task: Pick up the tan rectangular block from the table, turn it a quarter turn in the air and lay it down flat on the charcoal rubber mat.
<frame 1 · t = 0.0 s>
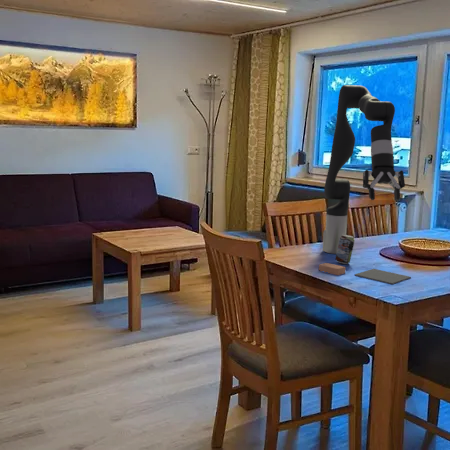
hand: (384, 199, 199), 31 cm above the table, tool tilted 20°, fingers open, 8 cm apart
tan rectangular block: (331, 272, 225), on the table
beverage can: (343, 263, 240), on the table
mat: (382, 276, 219), on the table
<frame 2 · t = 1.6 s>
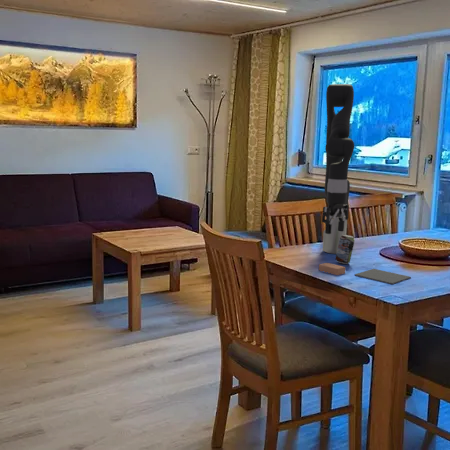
hand: (334, 232, 222), 16 cm above the table, tool pointing down, fingers open, 8 cm apart
nothing on the table moved.
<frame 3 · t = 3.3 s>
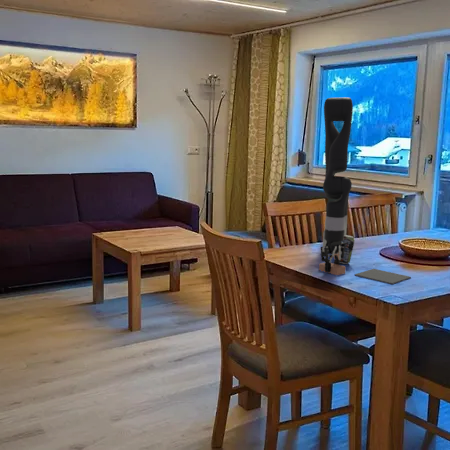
hand: (332, 270, 225), 1 cm above the table, tool pointing down, fingers closed on tan rectangular block, 5 cm apart
tan rectangular block: (331, 272, 225), on the table, touching gripper
everything else where it was.
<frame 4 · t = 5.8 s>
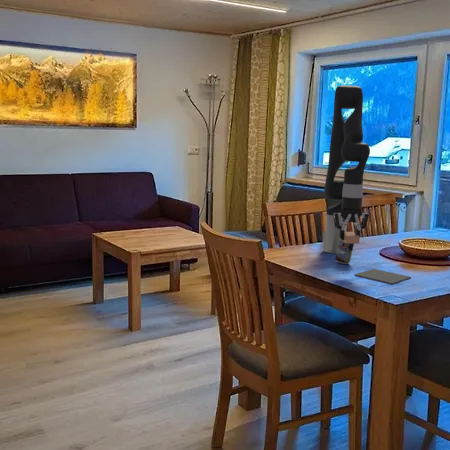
hand: (349, 239, 220), 14 cm above the table, tool pointing down, fingers closed on tan rectangular block, 5 cm apart
tan rectangular block: (349, 241, 220), point 13 cm above the table, touching gripper
everything else where it was.
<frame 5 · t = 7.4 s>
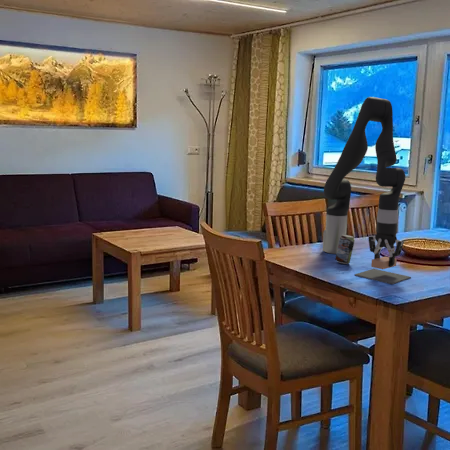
hand: (383, 264, 219), 5 cm above the table, tool pointing down, fingers closed on tan rectangular block, 5 cm apart
tan rectangular block: (383, 266, 219), point 4 cm above the table, touching gripper
everything else where it was.
when the fingers open (2 cm above the table, at t = 8.4 s): tan rectangular block stays where it is, resting on mat.
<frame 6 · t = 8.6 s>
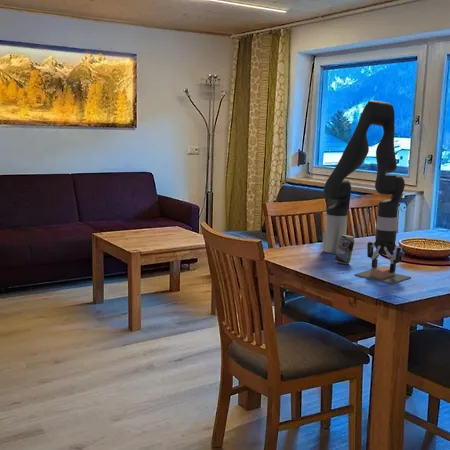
hand: (383, 270, 219), 2 cm above the table, tool pointing down, fingers open, 6 cm apart
tan rectangular block: (382, 275, 219), resting on mat
everything else where it was.
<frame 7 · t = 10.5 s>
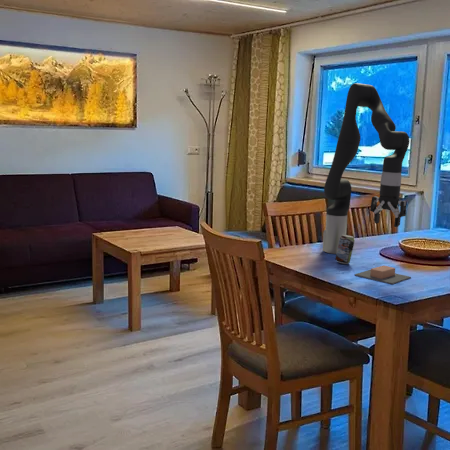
hand: (386, 224, 224), 19 cm above the table, tool pointing down, fingers open, 8 cm apart
nothing on the table moved.
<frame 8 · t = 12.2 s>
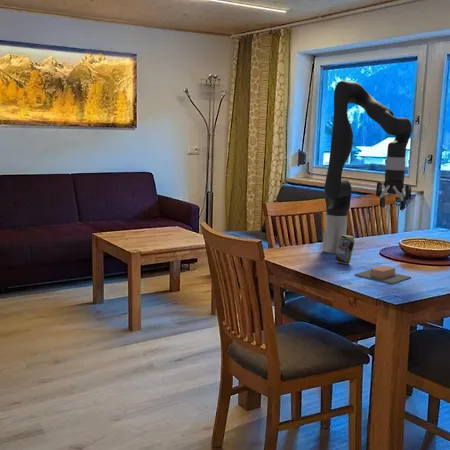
hand: (392, 208, 231), 24 cm above the table, tool pointing down, fingers open, 8 cm apart
nothing on the table moved.
at the end: tan rectangular block inside the target area on the mat (0.1 cm from its centre), point 0.5 cm above the mat's base; tan rectangular block tilted 0°; the gripper is holding nothing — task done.
